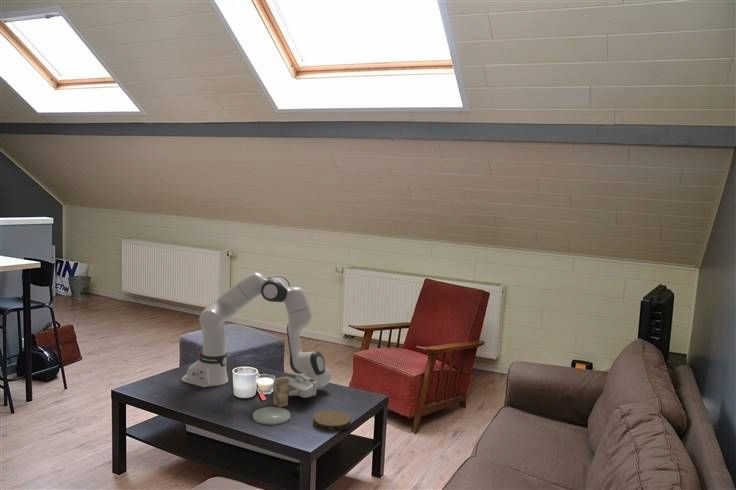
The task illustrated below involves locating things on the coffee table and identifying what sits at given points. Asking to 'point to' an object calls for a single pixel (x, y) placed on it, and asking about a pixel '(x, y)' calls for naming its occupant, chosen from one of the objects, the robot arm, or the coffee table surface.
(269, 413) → the dish
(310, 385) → the robot arm
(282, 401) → the birch block
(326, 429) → the brown round disc
